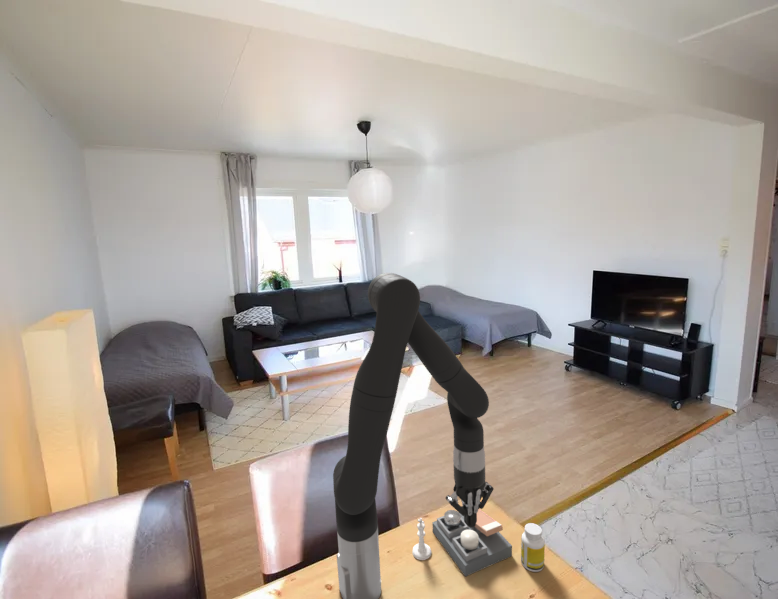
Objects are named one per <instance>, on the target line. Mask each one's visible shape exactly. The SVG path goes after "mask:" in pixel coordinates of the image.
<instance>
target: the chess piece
mask: <svg viewBox="0 0 778 599" xmlns="http://www.w3.org/2000/svg"><path fill="white" fill-rule="evenodd" d="M416 524H417V525H416V527H417V529H418V531H417V532H416V533H417V534H416V535H417V536H418V537H419V540H418V543H416V544H414V546H413V547H412V556H413V557H414V558H415V559H417V560H419V561H425V560H427V559H429V558H430V557H431V556H432V549H431V547H430V545H429V544H427V543H425V539H424V537H425V536H426V531H425V528H426V525H425V521H423V518H422V517H419V518H418V519H417V523H416Z"/></svg>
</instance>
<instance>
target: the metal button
mask: <svg viewBox="0 0 778 599" xmlns="http://www.w3.org/2000/svg"><path fill="white" fill-rule="evenodd" d="M443 516H444V523H445V525H446V526H447V527H449V528H457V527H459V526H460V525H461V515H460V513H459V512H458V511H457V510H456V509H448V510H447V511H445V512H444V514H443Z"/></svg>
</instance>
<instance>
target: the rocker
mask: <svg viewBox="0 0 778 599" xmlns="http://www.w3.org/2000/svg"><path fill="white" fill-rule="evenodd" d="M475 524H476V525H475V527H476V528H477V529H478V530H480V531H481V532H482V533H483V534H484V535H486V536H489V535H492V534H494V533H497V532H499V533H500V532H501V531H504V528H503V524H501V523H500V522H499V521H497V520H496V519H494V518H493V517H492V516H490V515H489V514H487V513H486V512H485V511H483V509H478V512H477V522H476V523H475Z"/></svg>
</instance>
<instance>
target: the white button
mask: <svg viewBox="0 0 778 599" xmlns="http://www.w3.org/2000/svg"><path fill="white" fill-rule="evenodd" d="M461 545H462V546H463V547H464V548H465V549H468V550H474V549H476V548H477V547H478V545H479V536H478V534H477V533H476V532H475V531H473V530H464V531H462V533H461Z"/></svg>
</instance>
